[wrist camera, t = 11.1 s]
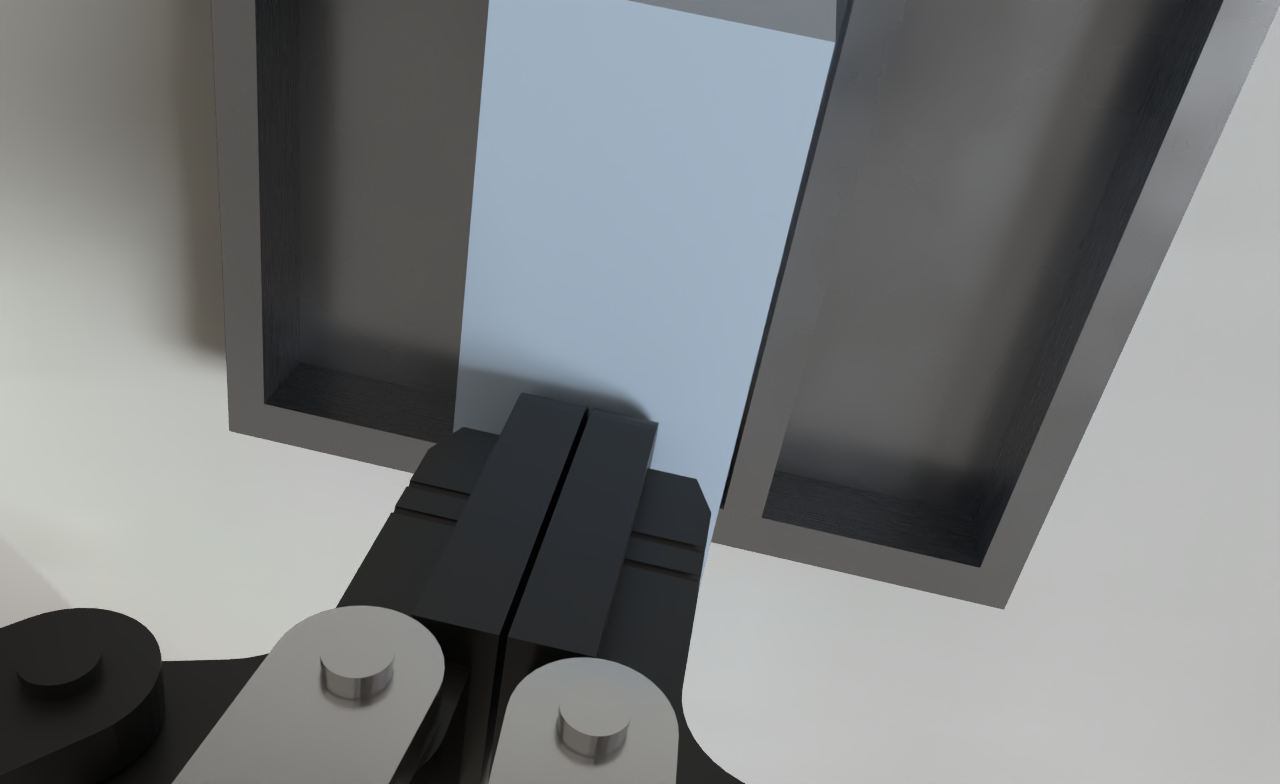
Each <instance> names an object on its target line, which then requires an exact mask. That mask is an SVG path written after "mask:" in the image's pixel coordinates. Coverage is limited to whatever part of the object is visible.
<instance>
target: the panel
mask: <svg viewBox="0 0 1280 784" xmlns="http://www.w3.org/2000/svg"><path fill="white" fill-rule="evenodd" d="M836 1H837V0H489V8H488V20H487V32H486V44H485V56H484V68H483V80H482V92H481V104H480V116H479V128H478V140H477V152H476V164H475V176H474V188H473V200H472V212H471V224H470V236H469V248H468V260H467V272H466V284H465V296H464V308H463V320H462V331H461V343H460V355H459V367H458V379H457V391H456V403H455V415H454V427H453V433H454V432H456V431H457V430H459V429H460V428H462V427H467V428H471V429H475V430H480V431H484V432H489V433H493V434H498V435H500V434H501V432H502V430H503V428H504V426H505V424H506V422H507V420H508V417H509V415H510V413H511V411H512V409H513V407H514V405H515V403H516V401H517V399H518V397H519V396H520V394H521V393H527V394H532V395H536V396H541V397H545V398H550V399H554V400H559V401H563V402H568V403H572V404H576V405H581V406H585V407H588V409H589V413H588V419H589V416H590V414H591V411H592V409H593V408H596V409H600V410H605V411H609V412H614V413H618V414H623V415H627V416H632V417H636V418H641V419H645V420H649V421H654V422H658V423H659V426H658V432H657V437H656V442H655V447H654V452H653V457H652V462H651V466H650V469H654V470H659V471H663V472H668V473H672V474H677V475H681V476H686V477H690V478H695V479H697V480H698V483H699V485H700V487H701V490H702V492H703V494H704V497H705V499H706V501H707V504H708V506H709V508H710V511H711V519H710V525H709V531H708V537H707V543H706V549H705V553H704V554H705V555H704V561H703V567H702V573H701V578H700V583H701V579H702V575H703V571H704V567H705V563H706V559H707V555H708V551H709V547H710V543H711V539H712V535H713V531H714V527H715V523H716V519H717V515H718V511H719V507H720V503H721V499H722V495H723V491H724V487H725V483H726V479H727V475H728V471H729V467H730V463H731V459H732V455H733V451H734V447H735V443H736V439H737V435H738V431H739V427H740V423H741V419H742V415H743V411H744V407H745V403H746V399H747V395H748V391H749V387H750V383H751V379H752V375H753V371H754V367H755V363H756V359H757V355H758V351H759V347H760V343H761V339H762V335H763V331H764V327H765V323H766V319H767V315H768V311H769V307H770V303H771V299H772V295H773V291H774V287H775V283H776V279H777V275H778V271H779V267H780V263H781V259H782V255H783V251H784V247H785V243H786V239H787V235H788V231H789V227H790V223H791V219H792V215H793V211H794V207H795V203H796V199H797V195H798V191H799V187H800V183H801V179H802V175H803V171H804V167H805V163H806V159H807V155H808V151H809V147H810V143H811V139H812V135H813V131H814V127H815V123H816V119H817V115H818V111H819V107H820V103H821V99H822V95H823V91H824V86H825V82H826V78H827V74H828V70H829V66H830V62H831V58H832V54H833V50H834V46H835V42H836ZM699 587H700V585H699Z"/></svg>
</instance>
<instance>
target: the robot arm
mask: <svg viewBox="0 0 1280 784" xmlns="http://www.w3.org/2000/svg"><path fill="white" fill-rule="evenodd" d="M588 413H589V409H588V407H585V406H581V405H576V404H572V403H568V402H563V401H559V400H554V399H550V398H545V397H541V396H536V395H532V394H527V393H521V394H520V396H519V397H518V399H517V401H516V403H515V405H514V407H513V409H512V411H511V413H510V415H509V417H508V420H507V422H506V424H505V426H504V428H503V430H502V432H501V434H500V435H498V434H493V433H489V432H484V431H480V430H475V429H471V428H467V427H462V428H460V429H459V430H457V431H456V432H454V433H453V434H451V435H450V436H448V437H446V438H445V439H443V440H442V441H440V442H439V443H437V444H436V445H434V446H433V447H431V448H430V449H428V451H427V452H426V454H425V456H424V458H423V459H422V461H421V463H420V464H419V466H418V468H417V470H416V471H415V473H414V475H413V476H412V478H411V480H410V484H409V487H406V488H405V490H404V492H403V494H402V495H401V497H400V499H399V500H398V502H397V504H396V506H395V510H394V513H391V514H390V516H389V518H388V519H387V521H386V523H385V525H384V526H383V528H382V530H381V531H380V533H379V535H378V537H377V538H376V540H375V542H374V543H373V545H372V547H371V549H370V550H369V552H368V554H367V555H366V557H365V559H364V561H363V562H362V564H361V566H360V567H359V569H358V571H357V573H356V574H355V576H354V578H353V579H352V581H351V583H350V585H349V586H348V588H347V590H346V591H345V593H344V595H343V597H342V598H341V600H340V602H339V604H338V605H337V607H336V608H334V609H330V610H327V611H323V612H320V613H318V614H315V615H313V616H310V617H308V618H306V619H305V620H303V621H301V622H300V623H298V624H296V625H295V626H294V627H292V628H291V629H290V630H289V631H287V632H286V633H285V634H284V635H283V637H282V638H281V639H280V640H279V641H278V642H277V643H276V645H275V646H274V647H273V649H272V650H271V651H270V653H268V654H265V655H260V656H255V657H250V658H242V659H230V660H194V661H162V660H161V653H160V649H159V645H158V643H157V641H156V639H155V637H154V635H153V634H152V633H151V632H150V631H149V630H148V629H147V628H146V627H145V626H144V625H142V624H141V623H140V622H138V621H137V620H135V619H133V618H131V617H128V616H126V615H124V614H121V613H117V612H114V611H110V610H103V609H96V608H74V609H64V610H58V611H52V612H48V613H43V614H40V615H37V616H34V617H30V618H27V619H25V620H22V621H19V622H16V623H14V624H11V625H8V626H5V627H3V628H0V784H745V783H743V782H741V781H740V780H738V779H737V778H735V777H733V776H732V775H730V774H729V773H727V772H726V771H724V770H723V769H722V768H721V767H720V766H718V765H717V764H716V763H715V762H713V761H712V759H711V758H710V757H709V756H708V755H707V754H706V753H705V752H704V751H703V750H702V749H701V747H700V746H699V744H698V743H697V742H696V740H695V739H694V737H693V735H692V733H691V731H690V730H689V728H688V726H687V723H686V720H685V717H684V713H683V707H682V688H683V682H684V676H685V670H686V664H687V658H688V652H689V646H690V640H691V634H692V628H693V622H694V616H695V610H696V604H697V598H698V591H699V585H700V578H701V573H702V567H703V561H704V555H705V554H704V553H705V549H706V543H707V537H708V531H709V525H710V519H711V511H710V508H709V506H708V504H707V501H706V499H705V497H704V494H703V492H702V490H701V487H700V485H699V483H698V480H697V479H695V478H690V477H686V476H681V475H677V474H672V473H668V472H663V471H659V470H654V469H650V466H651V462H652V457H653V452H654V447H655V442H656V437H657V432H658V426H659V423H658V422H654V421H649V420H645V419H641V418H636V417H632V416H627V415H623V414H618V413H614V412H609V411H605V410H600V409H596V408H593V409H592V411H591V414H590V416H589V419H588Z"/></svg>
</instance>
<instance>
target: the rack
mask: <svg viewBox="0 0 1280 784" xmlns="http://www.w3.org/2000/svg"><path fill="white" fill-rule="evenodd" d="M1279 6H1280V0H837V1H836V42H835V46H834V50H833V54H832V58H831V62H830V66H829V70H828V74H827V78H826V82H825V86H824V91H823V95H822V99H821V103H820V107H819V111H818V115H817V119H816V123H815V127H814V131H813V135H812V139H811V143H810V147H809V151H808V155H807V159H806V163H805V167H804V171H803V175H802V179H801V183H800V187H799V191H798V195H797V199H796V203H795V207H794V211H793V215H792V219H791V223H790V227H789V231H788V235H787V239H786V243H785V247H784V251H783V255H782V259H781V263H780V267H779V271H778V275H777V279H776V283H775V287H774V291H773V295H772V299H771V303H770V307H769V311H768V315H767V319H766V323H765V327H764V331H763V335H762V339H761V343H760V347H759V351H758V355H757V359H756V363H755V367H754V371H753V375H752V379H751V383H750V387H749V391H748V395H747V399H746V403H745V407H744V411H743V415H742V419H741V423H740V427H739V431H738V435H737V439H736V443H735V447H734V451H733V455H732V459H731V463H730V467H729V471H728V475H727V479H726V483H725V487H724V491H723V495H722V499H721V503H720V507H719V511H718V515H717V519H716V523H715V527H714V531H713V535H712V539H711V542H713V543H718V544H722V545H726V546H731V547H735V548H739V549H744V550H748V551H752V552H757V553H761V554H765V555H770V556H774V557H779V558H783V559H787V560H792V561H796V562H800V563H805V564H809V565H813V566H818V567H822V568H826V569H831V570H835V571H839V572H844V573H848V574H852V575H857V576H861V577H865V578H870V579H874V580H878V581H883V582H887V583H891V584H896V585H900V586H904V587H909V588H913V589H917V590H922V591H926V592H930V593H935V594H939V595H943V596H948V597H952V598H956V599H961V600H965V601H969V602H974V603H978V604H982V605H987V606H991V607H995V608H1000V609H1004V608H1005V606H1006V604H1007V602H1008V599H1009V597H1010V595H1011V593H1012V591H1013V589H1014V586H1015V584H1016V582H1017V580H1018V578H1019V575H1020V573H1021V571H1022V569H1023V567H1024V564H1025V562H1026V560H1027V558H1028V556H1029V553H1030V551H1031V549H1032V547H1033V545H1034V543H1035V540H1036V538H1037V536H1038V534H1039V532H1040V529H1041V527H1042V525H1043V523H1044V521H1045V518H1046V516H1047V514H1048V512H1049V510H1050V507H1051V505H1052V503H1053V501H1054V499H1055V497H1056V494H1057V492H1058V490H1059V488H1060V486H1061V483H1062V481H1063V479H1064V477H1065V475H1066V472H1067V470H1068V468H1069V466H1070V464H1071V461H1072V459H1073V457H1074V455H1075V453H1076V451H1077V448H1078V446H1079V444H1080V442H1081V440H1082V437H1083V435H1084V433H1085V431H1086V429H1087V426H1088V424H1089V422H1090V420H1091V418H1092V415H1093V413H1094V411H1095V409H1096V407H1097V405H1098V402H1099V400H1100V398H1101V396H1102V394H1103V391H1104V389H1105V387H1106V385H1107V383H1108V380H1109V378H1110V376H1111V374H1112V372H1113V369H1114V367H1115V365H1116V363H1117V361H1118V358H1119V356H1120V354H1121V352H1122V350H1123V348H1124V345H1125V343H1126V341H1127V339H1128V337H1129V334H1130V332H1131V330H1132V328H1133V326H1134V323H1135V321H1136V319H1137V317H1138V315H1139V312H1140V310H1141V308H1142V306H1143V304H1144V302H1145V299H1146V297H1147V295H1148V293H1149V291H1150V288H1151V286H1152V284H1153V282H1154V280H1155V277H1156V275H1157V273H1158V271H1159V269H1160V266H1161V264H1162V262H1163V260H1164V258H1165V256H1166V253H1167V251H1168V249H1169V247H1170V245H1171V242H1172V240H1173V238H1174V236H1175V234H1176V231H1177V229H1178V227H1179V225H1180V223H1181V220H1182V218H1183V216H1184V214H1185V212H1186V210H1187V207H1188V205H1189V203H1190V201H1191V199H1192V196H1193V194H1194V192H1195V190H1196V188H1197V185H1198V183H1199V181H1200V179H1201V177H1202V174H1203V172H1204V170H1205V168H1206V166H1207V163H1208V161H1209V159H1210V157H1211V155H1212V153H1213V150H1214V148H1215V146H1216V144H1217V142H1218V139H1219V137H1220V135H1221V133H1222V131H1223V128H1224V126H1225V124H1226V122H1227V120H1228V117H1229V115H1230V113H1231V111H1232V109H1233V107H1234V104H1235V102H1236V100H1237V98H1238V96H1239V93H1240V91H1241V89H1242V87H1243V85H1244V82H1245V80H1246V78H1247V76H1248V74H1249V71H1250V69H1251V67H1252V65H1253V63H1254V61H1255V58H1256V56H1257V54H1258V52H1259V50H1260V47H1261V45H1262V43H1263V41H1264V39H1265V36H1266V34H1267V32H1268V30H1269V28H1270V25H1271V23H1272V21H1273V19H1274V17H1275V15H1276V12H1277V10H1278V8H1279ZM488 8H489V0H211V12H212V36H213V59H214V83H215V106H216V130H217V153H218V176H219V200H220V223H221V247H222V270H223V294H224V317H225V341H226V364H227V388H228V411H229V431H232V432H236V433H241V434H245V435H249V436H254V437H258V438H262V439H267V440H271V441H275V442H280V443H284V444H288V445H293V446H297V447H301V448H306V449H310V450H314V451H319V452H323V453H327V454H332V455H336V456H340V457H345V458H349V459H353V460H358V461H362V462H366V463H371V464H375V465H379V466H384V467H388V468H392V469H397V470H401V471H405V472H410V473H415V471H416V470H417V468H418V466H419V464H420V463H421V461H422V459H423V458H424V456H425V454H426V452H427V451H428V449H430V448H431V447H433V446H434V445H436V444H437V443H439V442H440V441H442V440H443V439H445V438H446V437H448V436H450V435H451V434H453V427H454V415H455V403H456V391H457V379H458V367H459V355H460V343H461V331H462V320H463V308H464V296H465V284H466V272H467V260H468V248H469V236H470V224H471V212H472V200H473V188H474V176H475V164H476V152H477V140H478V128H479V116H480V104H481V92H482V80H483V68H484V56H485V44H486V32H487V20H488Z"/></svg>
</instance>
